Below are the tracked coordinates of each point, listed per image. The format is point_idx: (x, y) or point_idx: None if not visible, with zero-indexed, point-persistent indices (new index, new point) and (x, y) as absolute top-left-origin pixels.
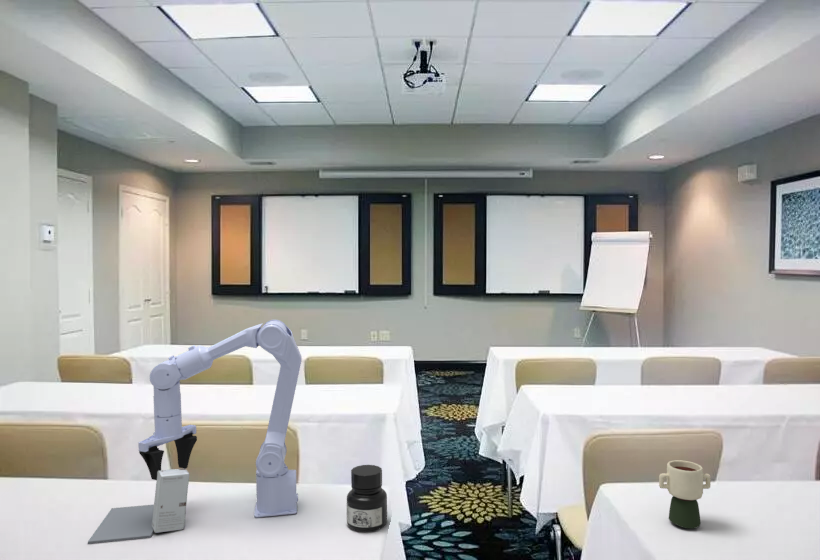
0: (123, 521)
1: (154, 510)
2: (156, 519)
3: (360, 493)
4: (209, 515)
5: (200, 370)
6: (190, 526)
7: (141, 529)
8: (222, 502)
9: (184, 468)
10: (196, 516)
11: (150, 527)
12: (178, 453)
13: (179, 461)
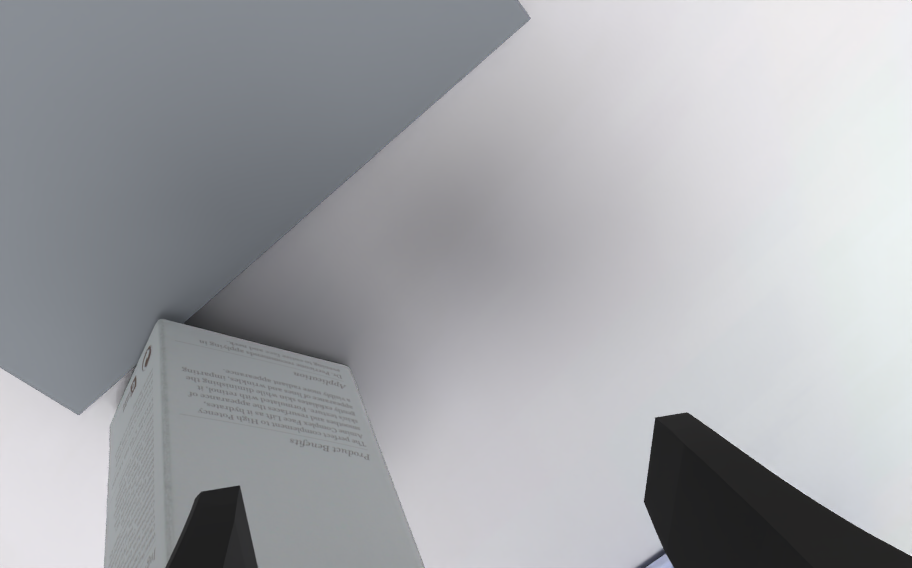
0: (42, 2)
1: (140, 446)
2: (107, 495)
3: None
4: (520, 419)
5: None
6: None
7: (80, 285)
8: (710, 332)
9: (647, 492)
10: (473, 370)
11: (148, 310)
12: (773, 552)
13: (694, 486)
